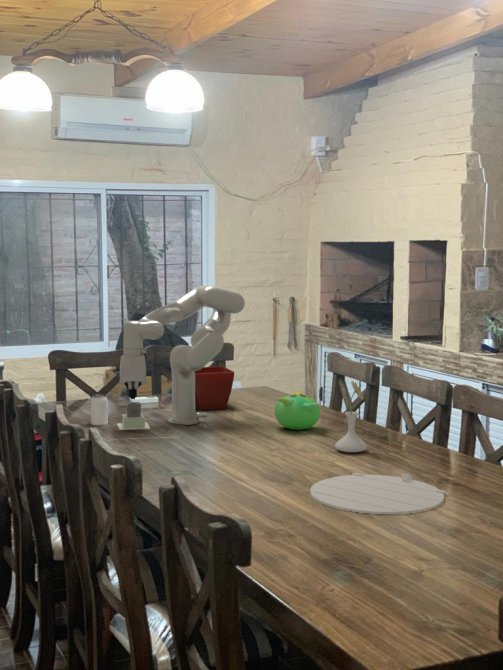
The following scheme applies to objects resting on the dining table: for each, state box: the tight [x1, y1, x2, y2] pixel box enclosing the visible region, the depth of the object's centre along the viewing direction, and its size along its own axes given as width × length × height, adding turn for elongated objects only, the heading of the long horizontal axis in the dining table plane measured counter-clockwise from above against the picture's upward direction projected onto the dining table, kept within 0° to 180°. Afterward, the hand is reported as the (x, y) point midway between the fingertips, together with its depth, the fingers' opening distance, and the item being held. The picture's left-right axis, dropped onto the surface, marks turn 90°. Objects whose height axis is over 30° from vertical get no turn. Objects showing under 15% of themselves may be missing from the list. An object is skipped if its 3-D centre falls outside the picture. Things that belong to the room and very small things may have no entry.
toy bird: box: [274, 390, 321, 431], centre depth 357 cm, size 18×17×15 cm
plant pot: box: [194, 366, 235, 411], centre depth 401 cm, size 19×19×17 cm
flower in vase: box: [334, 380, 368, 453], centre depth 322 cm, size 13×11×25 cm
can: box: [90, 394, 109, 426], centre depth 360 cm, size 6×6×12 cm
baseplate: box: [116, 421, 152, 431], centre depth 357 cm, size 12×12×1 cm
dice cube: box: [126, 401, 142, 417], centre depth 356 cm, size 5×5×5 cm
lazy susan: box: [309, 472, 449, 515], centre depth 268 cm, size 40×39×3 cm
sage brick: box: [121, 413, 146, 428], centre depth 356 cm, size 8×8×4 cm
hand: (132, 398), depth 355 cm, fingers closed
